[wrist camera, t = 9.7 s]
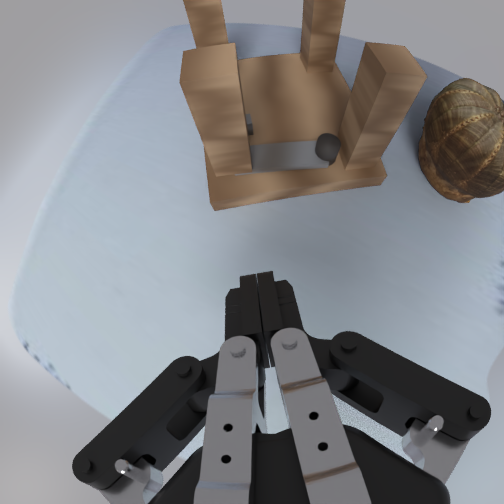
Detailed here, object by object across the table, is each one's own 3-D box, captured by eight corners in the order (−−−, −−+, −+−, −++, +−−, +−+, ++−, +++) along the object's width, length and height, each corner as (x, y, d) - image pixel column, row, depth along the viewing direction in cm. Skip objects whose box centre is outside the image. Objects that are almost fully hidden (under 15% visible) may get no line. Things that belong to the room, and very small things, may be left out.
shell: (384, 140, 27) (426, 60, 15) (446, 124, 27) (491, 63, 15) (434, 231, 24) (511, 181, 12) (491, 200, 24) (555, 155, 13)
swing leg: (332, 142, 24) (360, 41, 13) (339, 170, 23) (377, 71, 12) (216, 151, 25) (183, 51, 13) (217, 180, 24) (179, 82, 12)
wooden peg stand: (327, 63, 29) (341, -28, 16) (380, 185, 25) (446, 89, 12) (200, 79, 30) (172, -14, 16) (214, 210, 26) (162, 111, 12)
